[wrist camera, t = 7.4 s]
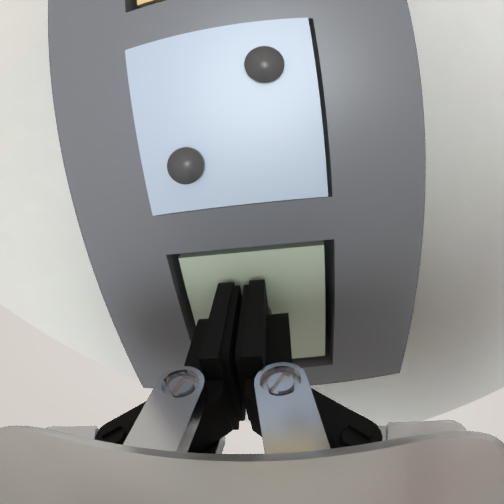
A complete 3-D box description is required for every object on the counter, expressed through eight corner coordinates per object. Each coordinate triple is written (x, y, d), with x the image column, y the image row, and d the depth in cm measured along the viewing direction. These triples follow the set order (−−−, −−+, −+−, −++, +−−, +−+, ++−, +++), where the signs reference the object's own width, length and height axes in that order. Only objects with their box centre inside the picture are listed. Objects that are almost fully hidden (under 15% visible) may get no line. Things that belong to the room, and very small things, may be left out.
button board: (341, -95, 7) (355, -133, 3) (380, 326, 16) (399, 372, 12) (92, -52, 8) (56, -76, 5) (162, 342, 17) (143, 387, 14)
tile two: (301, 35, 8) (308, 15, 6) (317, 181, 10) (329, 198, 8) (149, 59, 9) (121, 49, 7) (172, 197, 11) (150, 218, 9)
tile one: (316, 224, 12) (324, 247, 10) (319, 326, 14) (325, 358, 12) (191, 236, 13) (176, 260, 11) (213, 334, 15) (205, 365, 13)
